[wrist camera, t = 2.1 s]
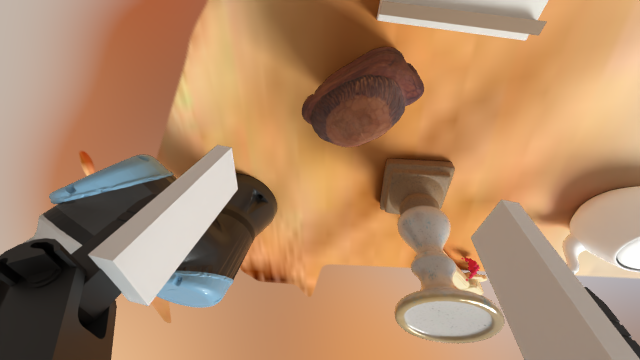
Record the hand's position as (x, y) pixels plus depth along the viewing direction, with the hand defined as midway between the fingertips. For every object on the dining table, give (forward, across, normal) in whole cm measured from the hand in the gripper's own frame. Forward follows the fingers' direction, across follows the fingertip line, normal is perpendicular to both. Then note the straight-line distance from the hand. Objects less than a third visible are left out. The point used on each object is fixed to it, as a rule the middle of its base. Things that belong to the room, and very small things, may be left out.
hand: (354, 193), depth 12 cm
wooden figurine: (+27, 0, 0) cm, 27 cm away
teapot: (+27, +45, -15) cm, 55 cm away
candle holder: (+27, +13, -17) cm, 35 cm away
